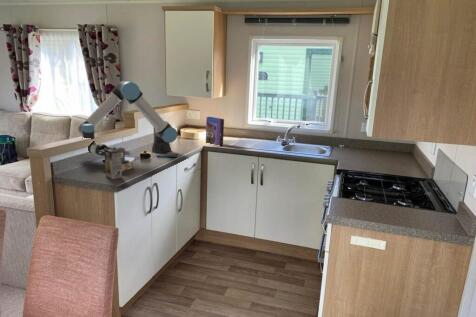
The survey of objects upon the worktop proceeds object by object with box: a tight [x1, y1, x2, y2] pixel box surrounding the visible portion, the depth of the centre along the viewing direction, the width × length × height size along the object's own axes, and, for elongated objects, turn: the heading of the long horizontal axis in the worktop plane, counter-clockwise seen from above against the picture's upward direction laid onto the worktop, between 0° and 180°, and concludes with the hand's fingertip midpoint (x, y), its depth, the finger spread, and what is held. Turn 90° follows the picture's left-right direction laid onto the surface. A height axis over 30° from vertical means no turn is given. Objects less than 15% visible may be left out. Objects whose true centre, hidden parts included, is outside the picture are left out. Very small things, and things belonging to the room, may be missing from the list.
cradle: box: [121, 160, 134, 172], centre depth 221 cm, size 11×10×4 cm
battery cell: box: [115, 146, 126, 165], centre depth 220 cm, size 6×6×13 cm
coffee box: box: [104, 147, 123, 180], centre depth 202 cm, size 9×6×16 cm
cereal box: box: [205, 116, 225, 146], centre depth 307 cm, size 17×5×24 cm, turn 48°
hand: (126, 154), depth 217 cm, fingers open, 6 cm apart
